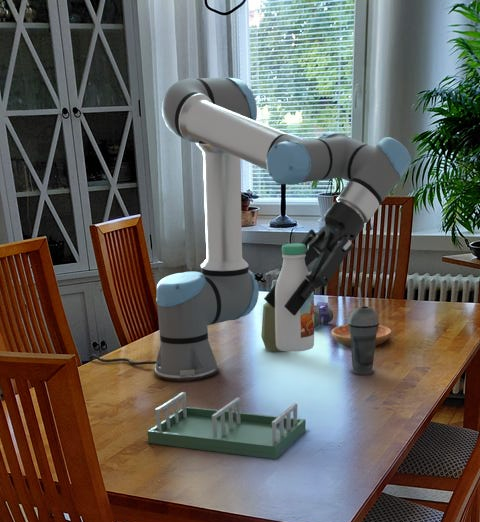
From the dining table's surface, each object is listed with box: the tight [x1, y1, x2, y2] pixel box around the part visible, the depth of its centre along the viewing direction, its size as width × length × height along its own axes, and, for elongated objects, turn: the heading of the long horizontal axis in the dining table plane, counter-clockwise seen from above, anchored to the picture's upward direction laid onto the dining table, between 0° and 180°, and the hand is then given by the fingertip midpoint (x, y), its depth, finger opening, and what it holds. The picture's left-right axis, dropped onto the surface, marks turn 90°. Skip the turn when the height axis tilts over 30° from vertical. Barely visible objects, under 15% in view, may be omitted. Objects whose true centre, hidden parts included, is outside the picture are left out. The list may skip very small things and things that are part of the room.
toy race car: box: [314, 301, 334, 330], centre depth 254 cm, size 10×15×6 cm, turn 54°
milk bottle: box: [275, 242, 315, 352], centre depth 170 cm, size 8×8×20 cm
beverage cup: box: [347, 286, 380, 376], centre depth 204 cm, size 7×7×20 cm
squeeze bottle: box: [260, 279, 283, 352], centre depth 227 cm, size 8×8×18 cm
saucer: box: [331, 323, 392, 347], centre depth 234 cm, size 16×16×3 cm
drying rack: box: [147, 391, 307, 460], centre depth 171 cm, size 27×16×6 cm, turn 66°
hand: (279, 307), depth 170 cm, fingers closed on milk bottle, 8 cm apart
